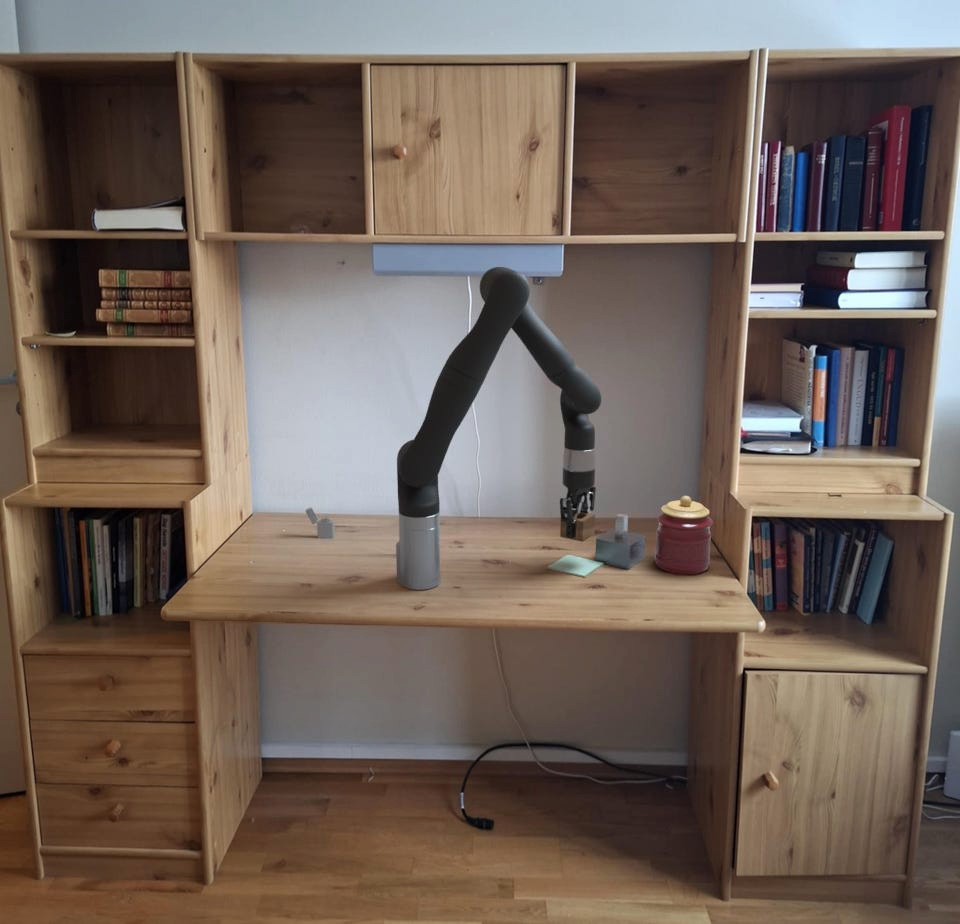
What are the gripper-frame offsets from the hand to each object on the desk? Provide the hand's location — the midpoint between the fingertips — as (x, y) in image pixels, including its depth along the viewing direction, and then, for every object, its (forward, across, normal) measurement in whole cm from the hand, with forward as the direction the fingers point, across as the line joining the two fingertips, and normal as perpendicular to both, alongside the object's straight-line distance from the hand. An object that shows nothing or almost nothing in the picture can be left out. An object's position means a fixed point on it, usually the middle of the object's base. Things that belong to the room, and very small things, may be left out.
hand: (577, 533), depth 209 cm
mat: (+8, 0, 0) cm, 8 cm away
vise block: (+9, -10, +7) cm, 15 cm away
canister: (+9, -15, +21) cm, 27 cm away
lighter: (+8, +19, -66) cm, 69 cm away
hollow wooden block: (+1, 0, 0) cm, 1 cm away
